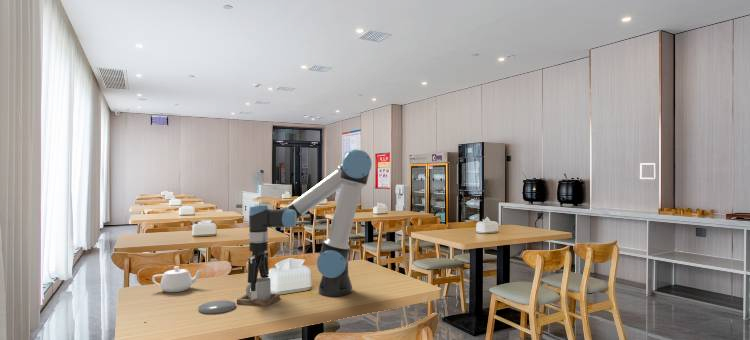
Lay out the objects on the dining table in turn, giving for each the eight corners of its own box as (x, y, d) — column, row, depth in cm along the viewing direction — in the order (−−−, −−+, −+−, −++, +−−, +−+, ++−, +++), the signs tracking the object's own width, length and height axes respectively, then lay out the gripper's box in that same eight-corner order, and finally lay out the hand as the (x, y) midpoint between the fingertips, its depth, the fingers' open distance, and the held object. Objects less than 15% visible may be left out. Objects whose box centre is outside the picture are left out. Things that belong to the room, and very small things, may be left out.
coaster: (241, 303, 177) (241, 301, 177) (223, 314, 163) (223, 312, 163) (211, 302, 180) (211, 299, 180) (190, 312, 166) (190, 310, 166)
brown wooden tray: (279, 298, 185) (279, 293, 185) (268, 305, 174) (268, 301, 174) (249, 296, 188) (249, 292, 188) (236, 304, 177) (236, 299, 177)
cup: (270, 303, 178) (269, 281, 178) (245, 304, 176) (244, 282, 176) (271, 297, 185) (270, 277, 185) (247, 299, 183) (246, 278, 183)
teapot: (149, 295, 189) (149, 271, 189) (154, 288, 202) (154, 265, 202) (202, 291, 196) (202, 267, 196) (204, 284, 209) (204, 261, 209)
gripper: (261, 237, 192) (261, 288, 192) (238, 245, 172) (238, 302, 172) (276, 237, 190) (276, 289, 190) (255, 245, 171) (255, 303, 171)
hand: (258, 295), depth 181 cm, fingers closed on cup, 7 cm apart
